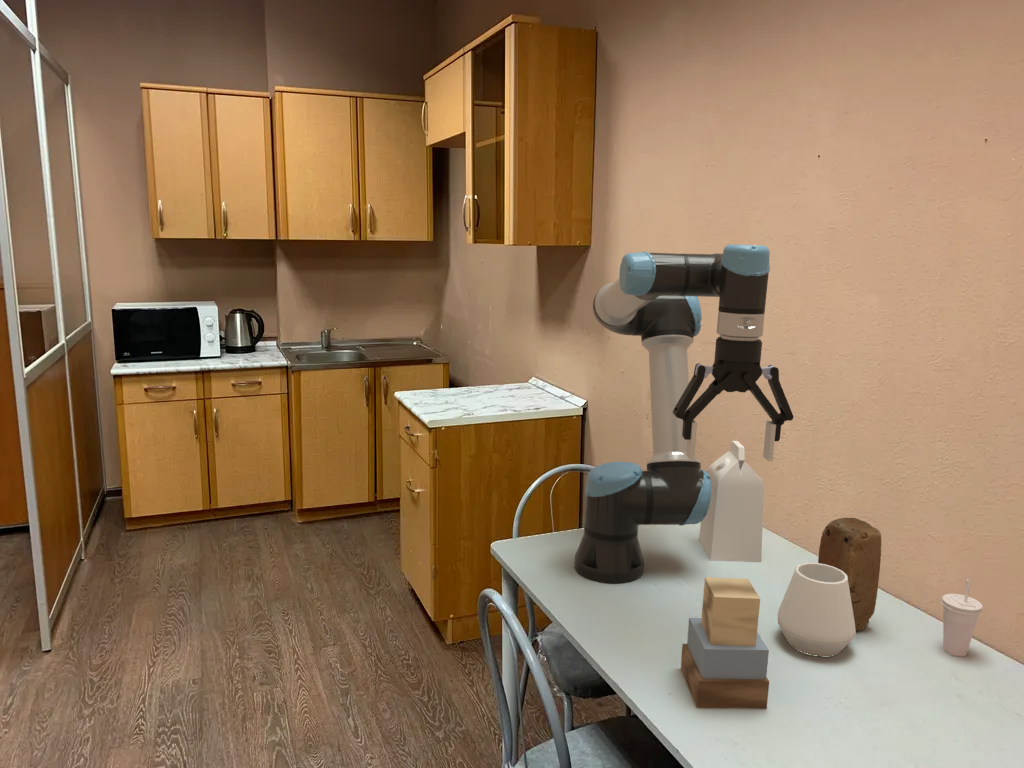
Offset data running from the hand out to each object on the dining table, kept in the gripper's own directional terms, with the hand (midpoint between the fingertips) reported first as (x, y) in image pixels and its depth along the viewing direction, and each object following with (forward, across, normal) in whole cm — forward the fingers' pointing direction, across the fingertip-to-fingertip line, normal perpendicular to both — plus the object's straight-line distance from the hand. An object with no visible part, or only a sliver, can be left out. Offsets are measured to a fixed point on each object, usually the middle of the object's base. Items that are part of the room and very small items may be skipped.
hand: (728, 458), depth 135 cm
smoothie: (+35, +43, -3) cm, 55 cm away
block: (+35, +27, +8) cm, 45 cm away
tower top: (+30, -3, -15) cm, 34 cm away
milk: (+35, +15, +41) cm, 56 cm away
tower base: (+35, -3, -15) cm, 38 cm away
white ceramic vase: (+35, +18, -1) cm, 39 cm away
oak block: (+25, -3, -16) cm, 29 cm away
